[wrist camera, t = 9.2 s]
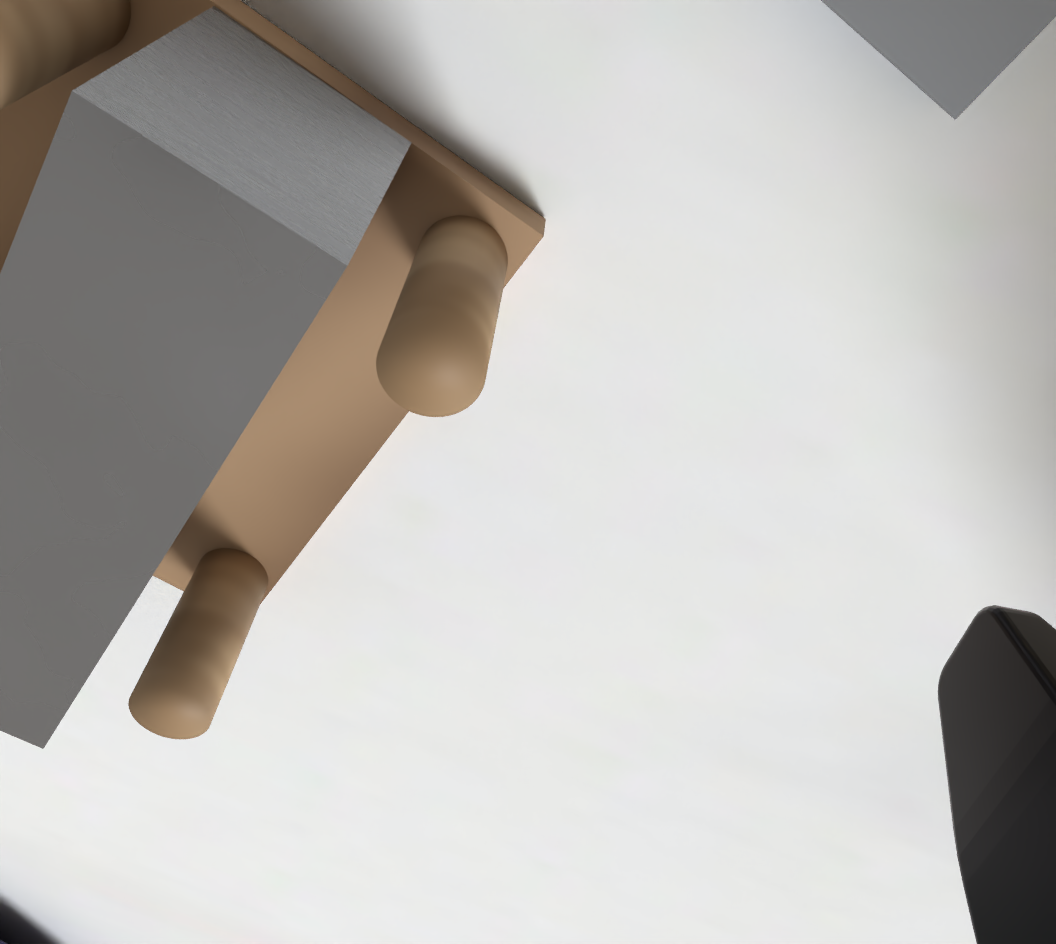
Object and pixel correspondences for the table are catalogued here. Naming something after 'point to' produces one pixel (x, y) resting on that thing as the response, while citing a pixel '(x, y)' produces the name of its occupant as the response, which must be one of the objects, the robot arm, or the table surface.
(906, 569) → the table surface
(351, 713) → the table surface
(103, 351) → the bar
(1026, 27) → the nut base
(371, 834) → the table surface
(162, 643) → the peg rack
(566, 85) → the table surface
